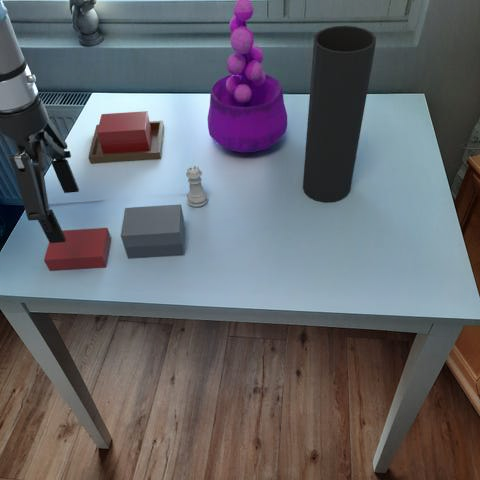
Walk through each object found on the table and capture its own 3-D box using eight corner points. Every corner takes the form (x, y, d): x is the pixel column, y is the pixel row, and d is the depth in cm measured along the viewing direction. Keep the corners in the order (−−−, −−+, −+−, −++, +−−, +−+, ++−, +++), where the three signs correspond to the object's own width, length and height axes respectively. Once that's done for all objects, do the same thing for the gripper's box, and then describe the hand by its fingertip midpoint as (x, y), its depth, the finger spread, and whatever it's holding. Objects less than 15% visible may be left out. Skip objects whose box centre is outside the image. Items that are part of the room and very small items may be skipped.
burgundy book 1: (49, 270, 91) (43, 260, 88) (57, 242, 95) (52, 230, 93) (106, 267, 90) (101, 256, 88) (111, 238, 95) (107, 227, 93)
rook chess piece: (211, 197, 102) (207, 165, 95) (203, 210, 99) (198, 178, 93) (192, 193, 103) (187, 161, 97) (184, 205, 100) (178, 174, 94)
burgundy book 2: (100, 144, 109) (96, 132, 107) (104, 125, 114) (101, 113, 112) (147, 141, 109) (144, 129, 107) (149, 122, 114) (147, 110, 111)
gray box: (128, 258, 92) (120, 235, 87) (131, 230, 96) (124, 207, 92) (184, 255, 92) (179, 232, 87) (185, 227, 96) (181, 204, 92)
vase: (360, 191, 101) (389, 41, 77) (321, 208, 98) (339, 58, 74) (330, 167, 106) (349, 20, 82) (293, 183, 103) (301, 35, 79)
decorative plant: (293, 157, 109) (301, 12, 85) (214, 167, 108) (200, 23, 84) (277, 115, 120) (280, -24, 97) (206, 124, 119) (190, -14, 95)
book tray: (91, 166, 111) (88, 156, 108) (99, 134, 119) (96, 124, 117) (161, 162, 110) (159, 152, 108) (164, 130, 119) (163, 120, 116)
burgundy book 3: (103, 155, 112) (100, 144, 109) (108, 136, 116) (104, 125, 114) (150, 152, 111) (147, 141, 109) (152, 134, 116) (149, 122, 114)
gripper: (18, 148, 60) (73, 263, 77) (56, 59, 75) (95, 171, 92) (-40, 152, 60) (28, 266, 77) (9, 62, 76) (57, 174, 92)
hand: (65, 215), depth 85 cm, fingers open, 13 cm apart
